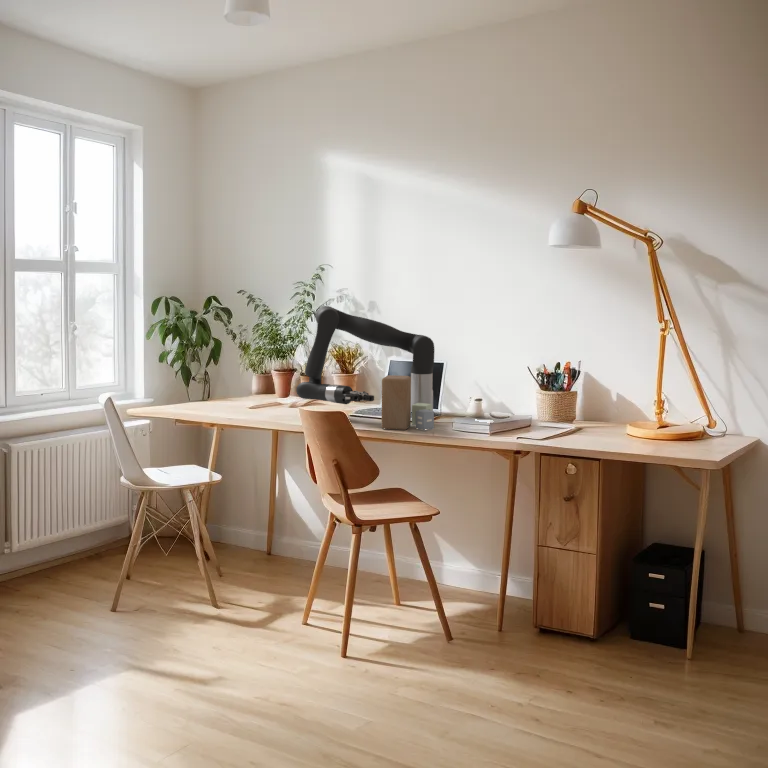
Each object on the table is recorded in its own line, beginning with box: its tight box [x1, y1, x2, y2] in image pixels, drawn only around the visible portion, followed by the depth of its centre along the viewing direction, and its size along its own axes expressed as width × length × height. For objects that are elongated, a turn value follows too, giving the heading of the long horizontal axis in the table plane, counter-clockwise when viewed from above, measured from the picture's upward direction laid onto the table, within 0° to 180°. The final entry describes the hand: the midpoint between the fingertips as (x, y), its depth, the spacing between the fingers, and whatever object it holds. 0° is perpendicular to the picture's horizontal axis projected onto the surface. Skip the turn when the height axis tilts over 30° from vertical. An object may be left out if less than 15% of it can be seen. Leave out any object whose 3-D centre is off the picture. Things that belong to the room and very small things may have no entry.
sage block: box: [411, 403, 432, 426], centre depth 338 cm, size 6×6×8 cm
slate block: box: [415, 409, 435, 431], centre depth 329 cm, size 5×5×7 cm
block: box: [381, 374, 412, 431], centre depth 330 cm, size 10×10×20 cm
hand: (373, 398), depth 337 cm, fingers closed
